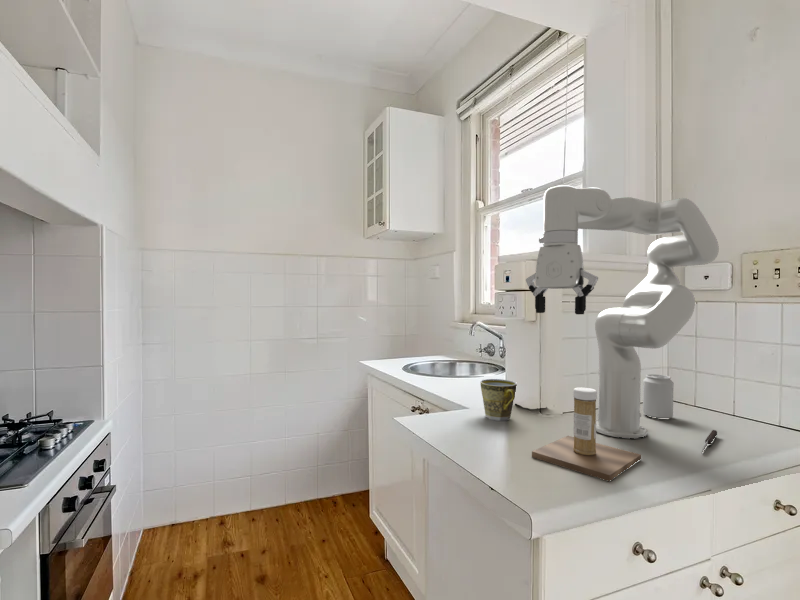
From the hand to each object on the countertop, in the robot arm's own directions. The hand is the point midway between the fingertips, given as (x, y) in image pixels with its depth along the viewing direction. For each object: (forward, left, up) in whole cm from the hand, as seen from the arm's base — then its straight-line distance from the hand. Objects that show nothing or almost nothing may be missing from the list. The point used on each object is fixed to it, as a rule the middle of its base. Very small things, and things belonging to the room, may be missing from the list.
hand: (559, 313), depth 100 cm
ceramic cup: (-6, -20, -31) cm, 37 cm away
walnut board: (+5, +9, -30) cm, 32 cm away
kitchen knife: (-25, +24, -31) cm, 46 cm away
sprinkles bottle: (+5, +9, -29) cm, 31 cm away
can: (-43, +8, -31) cm, 53 cm away
